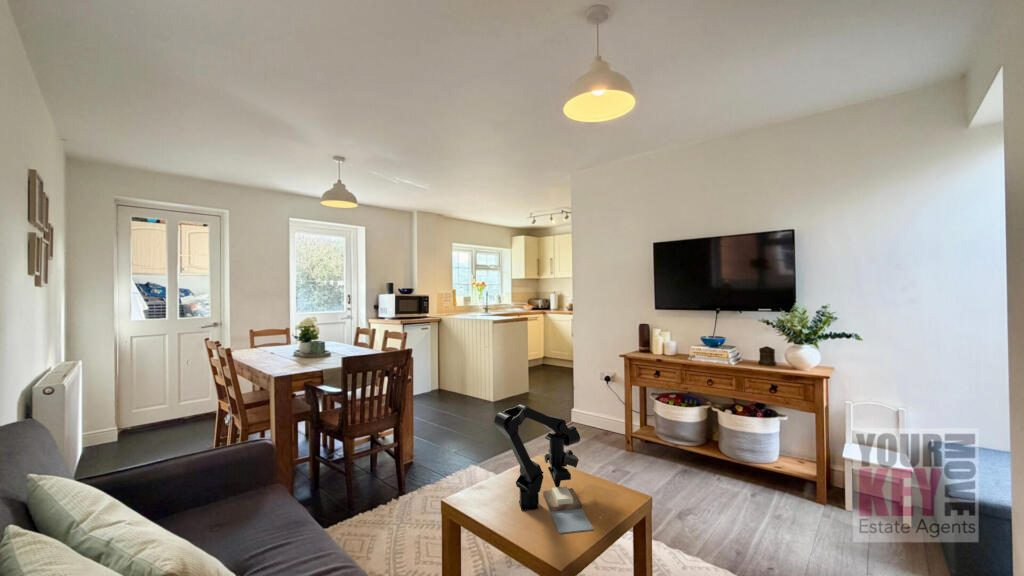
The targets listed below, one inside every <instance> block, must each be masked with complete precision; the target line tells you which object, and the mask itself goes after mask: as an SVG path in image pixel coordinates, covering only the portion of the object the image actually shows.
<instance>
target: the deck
mask: <svg viewBox="0 0 1024 576" xmlns="http://www.w3.org/2000/svg"><path fill="white" fill-rule="evenodd" d="M568 490H569V492H570V493H571V495H572V497H573V503H572V504H562V505H557V503H556V501H555V499H554V496H553V494H552V489H549V490H543V491H542V495H543V496H542V497H543V498H544V501H545V503H546V505H547V508H548V511H549V512H553V511H563V510H573V509H583V505H582V502H581V500H580V499H579V497H578V495H577V493H576V491H575V489H574V488H573V487H572V488H571V487H570V488H568Z"/></svg>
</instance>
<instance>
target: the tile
mask: <svg viewBox="0 0 1024 576" xmlns="http://www.w3.org/2000/svg"><path fill="white" fill-rule="evenodd" d="M568 489H569V488H568V486H566V485H565V486H559V487H556V486H555V487H554V486H553V487H551V490H552V494H553V496H554V499H555V501H556V503H557V505H562V504H572V503H573V497H572V495H571V493H570V492H569V490H568Z"/></svg>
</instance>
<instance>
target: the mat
mask: <svg viewBox="0 0 1024 576" xmlns="http://www.w3.org/2000/svg"><path fill="white" fill-rule="evenodd" d="M549 512H550V511H549ZM549 514H550V516H551V517H552V520H553V522H554V525H555V527H556V529H557V532H558V534H559V535H560V534H569V533H579V532H580V533H581V532H586V531H588V532H589V531H594V527H593V525H592V524H591V522H590V520H589V518H588V516H587V515H586V513H585V511H584V510H583V508H582V509H573V510H563V511H553V512H550V513H549Z"/></svg>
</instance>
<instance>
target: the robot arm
mask: <svg viewBox="0 0 1024 576" xmlns="http://www.w3.org/2000/svg"><path fill="white" fill-rule="evenodd" d="M526 418H527V419H530V420H532V421H534V422H537V423H538V424H539V423H540V424H542V425H543V427H545V428H546V429H547V430H550V431H551V432H553V433H551V432H548V433H547V435H545V436H544V439H545V440H548V441H549V449H548V450H547V451H548V453H546V454H545V455H544V462H545V464H549V466H548V467H547V470H548V471H549V473H550V476H551V478H552V482H553V483H554V486H555V487H561V486H560V485H561V482H562V481H570V480H572V474H571V472H570V471H569V469H568V468H567V467H568V466H570V467H573V468H577V467H578V463H579V462H580V459H579V458H578V456H576V454H574V452H573V451H572V449H568V450H566V451H565V447H569V446H572V445H576V444H578V443H579V442H580V441H581V436H580V433H579V431H578V430H577V427H576V426H574V425H572V426H569V427H568V425H567V422H566V420H565V419H563V418H561V417H558V416H556V415H551V414H545V413H542V412H539V411H537V410H535V409H533V408H530V406H527V405H524V404H520V403H519V404H518V405H515V406H514V407H511V408H507V409H505V410H503V411H500V412H498V413H496V415H495V417H494V419H493V423H494V425H495V427H496V428H497V429H498V431H499V432H500V433H501V434H502V435H504V437H505V438H506V440H507V442H508V444H509V447H510V449H511V450H512V452H513V454H514V456H515V458H516V460H517V463H518V465H519V473H520V475H519V476H518V477H517V478H516V481H515V485H516V487H517V488H519V500H518V504H519V507H520V510H521V511H532V510H539V505H540V497H539V493H541V488H542V485H543V480H544V471H543V470H542V467H541V465H540V464H539V463H537V462H535V461H533V460H532V459H531V457H530V455H529V453H528V450H527V449H526V446H525V444H524V442H523V440H522V439H521V436H520V434H519V426H521V425H522V424H523V422H524V420H525V419H526ZM565 467H566V468H565Z"/></svg>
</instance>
